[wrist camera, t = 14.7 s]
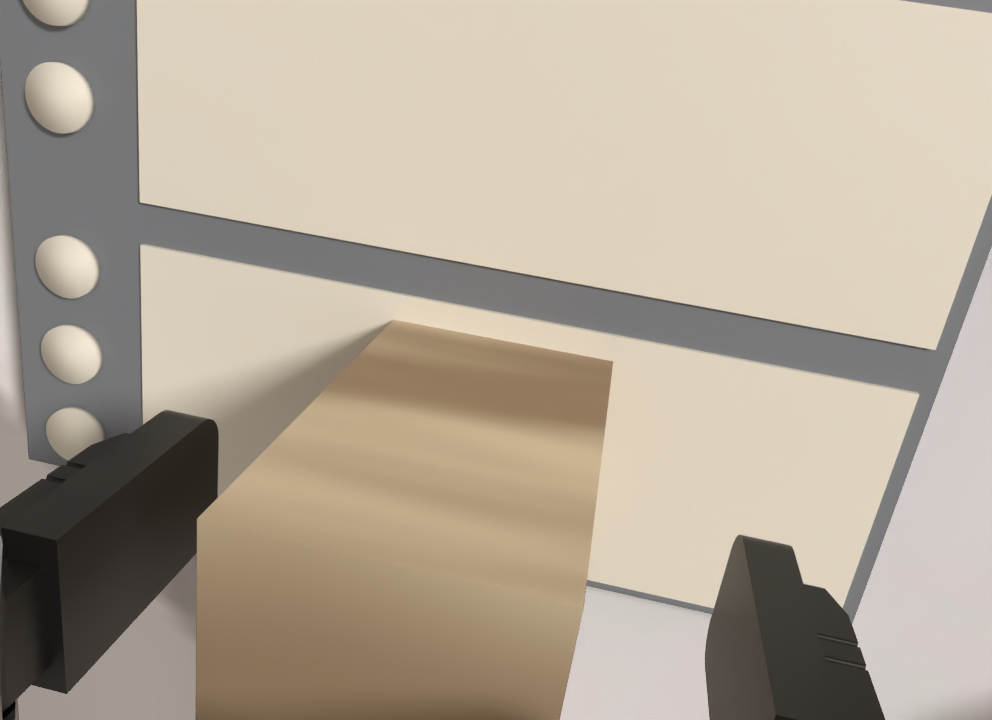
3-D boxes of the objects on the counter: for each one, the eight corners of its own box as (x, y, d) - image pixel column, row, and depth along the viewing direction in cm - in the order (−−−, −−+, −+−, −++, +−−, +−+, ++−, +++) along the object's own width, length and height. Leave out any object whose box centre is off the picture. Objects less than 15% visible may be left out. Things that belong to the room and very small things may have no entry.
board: (13, -560, 13) (-60, -632, 11) (1212, -468, 11) (1290, -542, 9) (66, 435, 19) (22, 462, 17) (831, 605, 17) (847, 650, 15)
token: (393, 319, 15) (197, 518, 8) (612, 361, 14) (583, 606, 8) (375, 509, 16) (195, 804, 10) (574, 552, 16) (523, 891, 9)
